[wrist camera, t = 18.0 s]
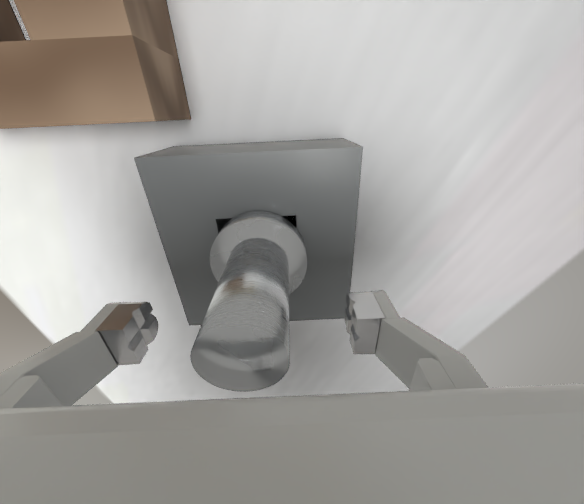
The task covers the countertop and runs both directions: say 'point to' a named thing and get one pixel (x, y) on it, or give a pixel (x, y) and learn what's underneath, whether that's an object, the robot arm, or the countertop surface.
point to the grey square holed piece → (257, 197)
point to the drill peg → (250, 302)
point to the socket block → (89, 63)
